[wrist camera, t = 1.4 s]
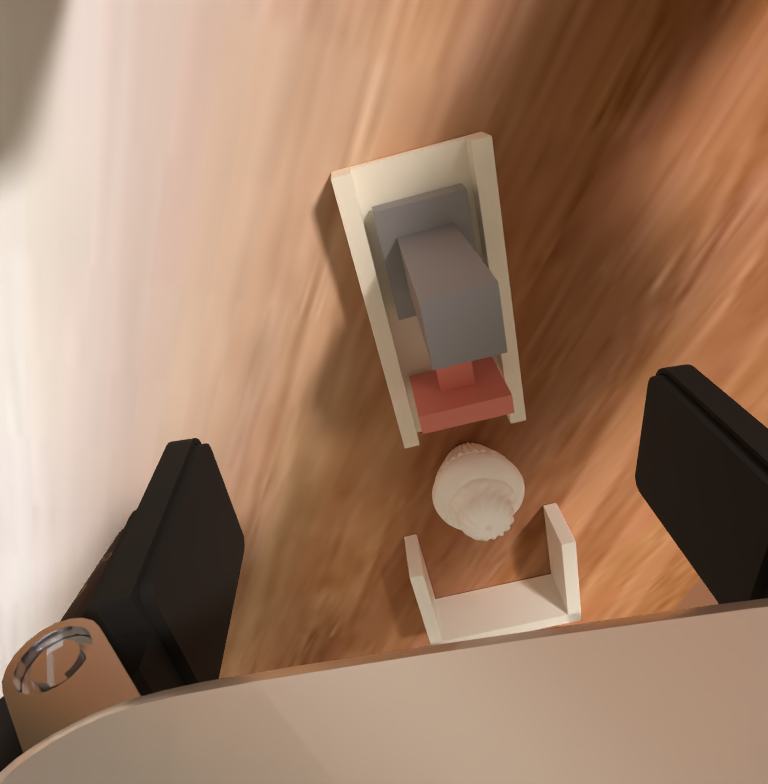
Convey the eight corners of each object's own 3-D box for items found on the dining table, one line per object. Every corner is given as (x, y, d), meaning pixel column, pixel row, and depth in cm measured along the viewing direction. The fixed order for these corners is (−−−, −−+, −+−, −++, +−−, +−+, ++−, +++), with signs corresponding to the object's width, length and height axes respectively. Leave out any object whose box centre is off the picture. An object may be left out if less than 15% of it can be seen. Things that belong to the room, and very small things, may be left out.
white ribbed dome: (439, 417, 37) (459, 485, 31) (522, 432, 38) (557, 500, 32) (414, 486, 40) (428, 560, 34) (492, 498, 41) (518, 572, 35)
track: (481, 131, 28) (491, 135, 26) (516, 402, 36) (526, 420, 35) (331, 171, 28) (330, 178, 26) (401, 429, 37) (404, 448, 35)
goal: (556, 502, 41) (575, 541, 38) (563, 579, 46) (581, 619, 43) (404, 536, 42) (409, 578, 39) (426, 608, 47) (432, 651, 43)
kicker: (465, 182, 28) (523, 234, 19) (493, 372, 34) (548, 479, 25) (367, 207, 28) (380, 270, 19) (412, 391, 34) (438, 504, 25)
